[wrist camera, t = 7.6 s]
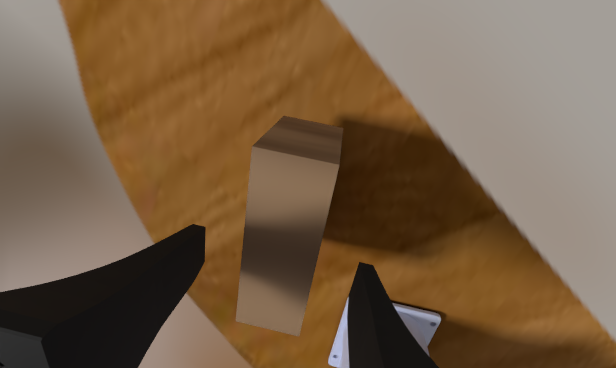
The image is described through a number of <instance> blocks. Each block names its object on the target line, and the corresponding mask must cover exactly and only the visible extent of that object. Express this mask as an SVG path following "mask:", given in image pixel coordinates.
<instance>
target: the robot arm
mask: <svg viewBox="0 0 616 368" xmlns="http://www.w3.org/2000/svg"><path fill="white" fill-rule="evenodd" d="M204 262H205V227H203V226H199V225H195V224H192V225H190V226H188V227H186V228H184V229H182V230H180V231H179V232H177V233H175V234H173V235H171V236H169V237H167V238H165V239H164V240H162V241H160V242H158V243H156V244H154V245H152V246H150V247H148V248H146V249H143V250H141V251H139V252H137V253H135V254H133V255H131V256H128V257H126V258H124V259H121V260H119V261H116V262H113V263H111V264H108V265H105V266H103V267H100V268H97V269H94V270H90V271H87V272H84V273H81V274H78V275H75V276H71V277H68V278H64V279H61V280H56V281H52V282H48V283H44V284H40V285H35V286H30V287H26V288H20V289H15V290H10V291H5V292H0V368H138V366H139V365H140V363H141V361H142V359H143V357H144V356H145V354H146V352H147V350H148V349H149V347H150V345H151V343H152V342H153V340H154V338H155V337H156V335H157V333H158V331H159V330H160V328H161V326H162V325H163V324H164V322H165V321H166V320H167V318H168V317H169V315H170V314H171V312H172V311H173V310H174V309H175V307H176V306H177V304H178V303H179V302H180V300H181V299H182V297H183V296H184V294H185V293H186V292H187V290H188V289H189V288H190V286H191V285H192V283H193V282H194V280H195V279H196V277H197V275H198V273H199V271H200V269H201V267H202V266H203V264H204ZM431 322H433V323H431ZM440 322H441V317H440V315H439V314H438V313H434V312H430V311H426V310H422V309H417V308H413V307H409V306H404V305H400V304H396V303H392V302H391V300H390V298H389V296H388V295H387V293H386V291H385V289H384V287H383V285H382V283H381V281H380V279H379V277H378V274H377V272H376V270H375V268H374V266H373V265H370V264H365V263H361V262H359V265H358V268H357V271H356V274H355V278H354V281H353V284H352V287H351V290H350V293H349V296H348V299H347V302H346V305H345V309H344V312H343V315H342V318H341V321H340V324H339V327H338V331H337V334H336V337H335V340H334V343H333V346H332V350H331V353H330V356H329V360H328V363H329V364H330V365H331V366H335V367H338V368H439V367H438V366H437V365H436V364H435V363H434V361H433V360H432V359H431V358H430V356H429V352H428V348H427V346H428V344H429V343H430V341H431V339H432V337H433V335H434V333H435V331H436V329H437V327H438V326H439V324H440Z"/></svg>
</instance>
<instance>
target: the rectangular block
mask: <svg viewBox="0 0 616 368" xmlns="http://www.w3.org/2000/svg"><path fill="white" fill-rule="evenodd" d="M342 136H343V128H341V127H336V126H331V125H326V124H321V123H316V122H311V121H307V120H302V119H297V118H292V117H287V116H283V117H282V118H281V119H280V120H279V121H278V122H277V123H276V124H275V125H274V126H273V127H272V128H271V129H270V130H269V131H268V132H267V133H266V134H265V135H263V136H262V137H261V138H260V139H259V140H258V141H257V142H256V143H255V144H254V145H253V146H252V153H251V164H250V175H249V185H248V196H247V207H246V217H245V228H244V239H243V249H242V260H241V271H240V281H239V292H238V303H237V313H236V321H237V322H241V323H246V324H250V325H254V326H258V327H262V328H266V329H270V330H275V331H279V332H283V333H287V334H291V335H295V336H299V334H300V330H301V326H302V322H303V317H304V313H305V309H306V305H307V301H308V296H309V292H310V288H311V284H312V279H313V275H314V271H315V267H316V262H317V258H318V254H319V250H320V246H321V241H322V237H323V233H324V229H325V224H326V220H327V216H328V212H329V207H330V203H331V199H332V195H333V191H334V186H335V182H336V178H337V174H338V169H339V165H340V156H341V146H342Z"/></svg>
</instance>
